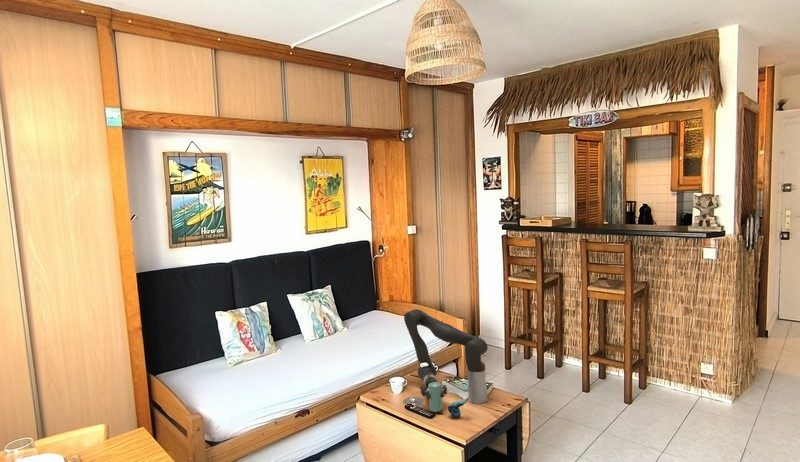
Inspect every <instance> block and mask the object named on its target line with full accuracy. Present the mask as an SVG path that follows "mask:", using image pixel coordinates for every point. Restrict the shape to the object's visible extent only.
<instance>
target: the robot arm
mask: <svg viewBox="0 0 800 462" xmlns="http://www.w3.org/2000/svg"><path fill="white" fill-rule="evenodd" d="M403 319H404V323H405V327H406V328H407V331H408V333H409V336H410V339H411V341H412V343H413V347H414V349H415V353H416V358H417V362H418V363H420V364H423V363H426V364H427V365H424V366H422V367H419V368H418V369H417V376H418V378H419V379H420V380H421V381H422V382H423V385H424V387H422V386H421V387H419V392H420V394H421V396H422V397H425V396H426V398H427V399H428V400H429V399H430V394H429V388H428V384H429V383H431V382H439V381H438V379H437V377H436V376H437V370H436V367H435V366H434V364H433V362H432V359H431V357H430V353H429V350H428V346H427V343H426V342H425V340H424V339H423V338H422V336H421V335H420V333H419V330H418V326H422V327H424V328H426V329H428V330H430V332H431V333H432V334H433V336H434V337H436V338H437V339H439V340H441V341H443V342H444V343H445V342H446V343H449V344H456V345H462V346H464V347H465V348H464V357H465V365H466V367H467V382H468V383H467V387H468V389H467V391H468V402H469V403H471V404H475V405H482V404H484V403H487V402H488V385H487V383H486V365H485V363H484V362H483V361H482V358H481V357H482V356H483V355H484V354H485V353H486V352H487V351H488V348H489V347H488V344H487V342H486V341H485V340H484V339H483V338H481V337H479V336H475V335H472V334H470V333H467V332H465V331H463V330H461V329H458V328H457V327H454V326H452V325H449V324H448V323H445V322H443V321H441V320H439V319H438V318H434V317H432V316H430V315H429V314H427V313H426V312H424V311H423V310H421V309H418V308H416V309H412V310H409V311H407V312H405V313H404V316H403ZM441 394H442V399H443V398H444V397H445V395H447V385H445V384H443V386H441Z"/></svg>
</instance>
